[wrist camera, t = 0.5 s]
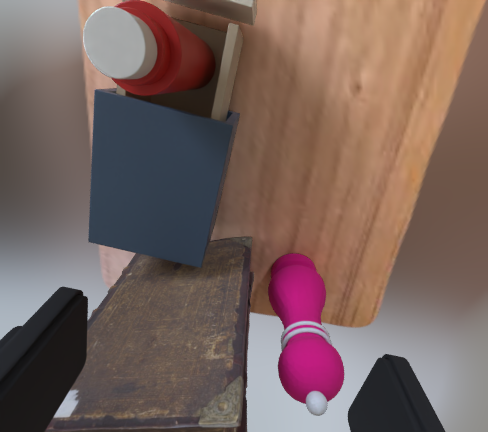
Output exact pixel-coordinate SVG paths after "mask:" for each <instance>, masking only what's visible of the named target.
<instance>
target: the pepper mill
mask: <svg viewBox="0 0 488 432" xmlns="http://www.w3.org/2000/svg"><path fill="white" fill-rule="evenodd" d="M268 294H269V300H270V303H271V306H272V308H273V310H274V311H275V313H276V314H277V315H278V316H279V318H280V319H281V321H282V323H283V325H284V332H283V334H282V336H281V344H282V353H281V354H280V357H279V362H278V371H279V378H280V380H281V383H282V386H283V387H284V389H285V391H286V392H287V393H288V394H289V395H290V396H291V397H292V398H294V399H295V400H297V401H299V402H301V403H305V404H306V406H307V409H308V410H309V412H311V413H312V414H314V415H318V416H319V415H322V414H324V413H325V411H326V410H327V402H328V401H329V400H331V399H332V398H334V397H335V396H336V395H337V393H338V392H339V391H340V389H341V387H342V385H343V380H344V367H343V362H342V360H341V357H340V355H339V353H338V352H337V350H336V349H335V348H334V347H333V346H332V344H331V340H330V336H329V333H328V332H327V330H326V329H325V328H324V327H323V326H322V324H321V312H322V310H323V307H324V305H325V299H326V290H325V285H324V282H323V280H322V278H321V276H320V275H319V274H318V273H317V272H316V268H315V265H314V263H313V262H312V261H311V260H310V259H309V258H308V257H306V256H304V255H301V254H293V253H292V254H287V255H284V256H282V257H280V258H279V259H277V260H276V261H275V263H274V264H273V266H272V269H271V280H270V283H269V286H268Z"/></svg>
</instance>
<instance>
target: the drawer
mask: <svg viewBox="0 0 488 432" xmlns="http://www.w3.org/2000/svg"><path fill="white" fill-rule="evenodd" d="M125 1H130V0H123V2H125ZM164 1H168V2H171V3H175V4H178V5H182V6H185V7H189V8H192V9H196V10H200V11H203V12H207V13H210V14H214V15H217V16H221V17H224V18H228V19H232V20H235V21H239V22H242V23H246V24H249V25H253V26H254V23H255V18H256V14H257V4H256V0H164ZM171 18H172V17H171ZM173 19H174V20H175V21H177V22H178V23H180V24H181V25H182V26H184V27H185V28H186V29H188V30H189V31H191V32H192V33H193V34H195V35H196V36H198V37H199V38H200V39H202V40H203V41H205V42H206V43H207V44H208V45H209V47H210V48H211V50H212V52H213V54H214V57H215V63H216V67H215V72H214V75H213V77H212V79H211V81H210V82H209V83H208V84H207V85H206V86H204V87H202V88H199V89H194V90H187V91H179V92H172V93H165V94H158V95H150V96H141V95H136V94H133V93H130V92H128V91H126V90H124V89H123V88H121V87H120V86H119V85H117V90H116V94H120V95H124V96H127V97H131V98H135V99H139V100H143V101H146V102H150V103H154V104H158V105H162V106H166V107H169V108H173V109H177V110H181V111H185V112H189V113H192V114H196V115H200V116H204V117H208V118H212V119H215V120H219V121H223V122H226V118H227V114H228V109H229V104H230V100H231V95H232V90H233V86H234V81H235V76H236V72H237V67H238V62H239V58H240V53H241V48H242V44H243V36H242V33H241V30H240V27H239V25H236V24H232V23H229V26H228V31H227V33H226V32H223V31H219V30H216V29H212V28H208V27H205V26H201V25H198V24H194V23H190V22H187V21H183V20H180V19H176V18H173Z"/></svg>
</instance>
